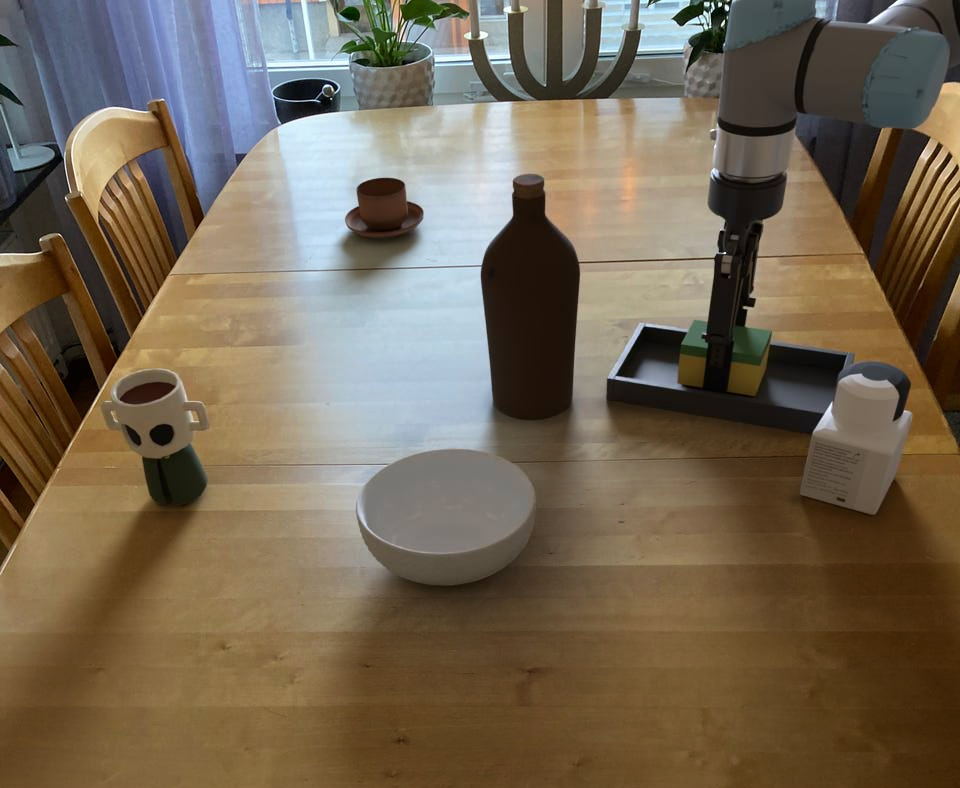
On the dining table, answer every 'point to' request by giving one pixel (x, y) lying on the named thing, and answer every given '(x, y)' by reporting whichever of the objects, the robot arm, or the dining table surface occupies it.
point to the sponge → (744, 364)
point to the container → (859, 438)
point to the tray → (778, 402)
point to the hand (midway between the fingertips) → (721, 374)
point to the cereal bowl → (447, 515)
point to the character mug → (160, 431)
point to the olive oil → (530, 308)
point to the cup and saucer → (383, 209)
